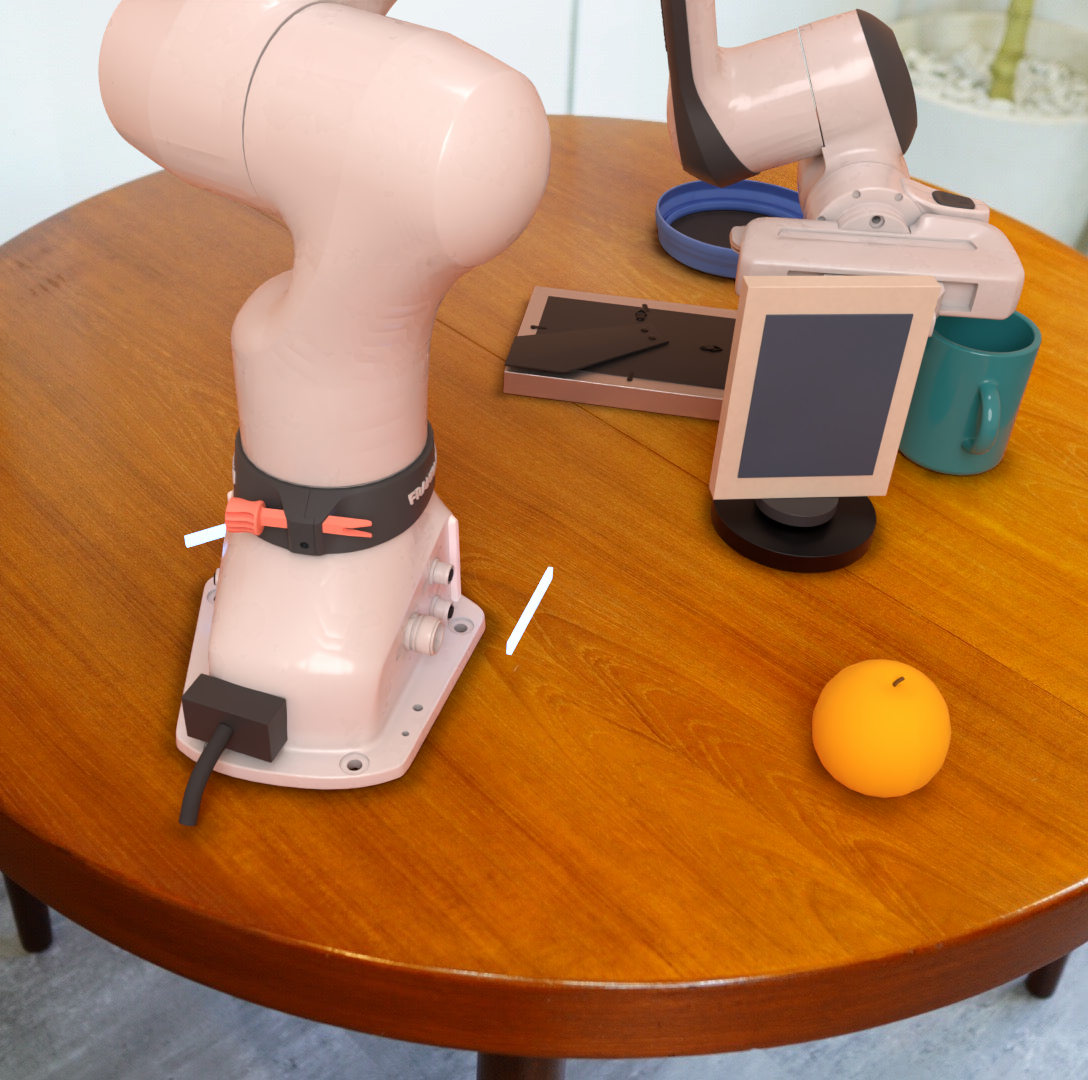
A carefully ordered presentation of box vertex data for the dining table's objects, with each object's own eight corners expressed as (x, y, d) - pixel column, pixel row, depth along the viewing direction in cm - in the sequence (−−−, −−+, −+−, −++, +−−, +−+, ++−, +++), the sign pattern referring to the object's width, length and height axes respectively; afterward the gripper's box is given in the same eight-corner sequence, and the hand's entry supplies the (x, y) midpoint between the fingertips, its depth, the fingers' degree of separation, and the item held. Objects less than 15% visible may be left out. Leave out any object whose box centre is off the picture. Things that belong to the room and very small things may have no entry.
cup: (910, 499, 101) (946, 373, 94) (879, 414, 111) (910, 294, 104) (1026, 504, 102) (1070, 379, 95) (986, 419, 111) (1023, 300, 104)
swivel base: (878, 582, 93) (882, 565, 92) (708, 562, 94) (711, 545, 93) (866, 485, 102) (870, 469, 102) (712, 467, 103) (714, 451, 102)
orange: (792, 717, 82) (814, 627, 77) (917, 721, 82) (946, 631, 78) (815, 818, 76) (840, 727, 71) (950, 821, 76) (984, 730, 71)
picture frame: (503, 393, 110) (751, 425, 108) (504, 363, 108) (756, 395, 107) (533, 306, 123) (757, 333, 121) (535, 278, 121) (761, 305, 119)
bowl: (852, 283, 130) (859, 250, 128) (674, 288, 127) (678, 254, 125) (797, 207, 144) (802, 175, 142) (636, 209, 141) (639, 177, 139)
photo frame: (892, 525, 96) (953, 302, 84) (717, 529, 94) (756, 303, 83) (867, 477, 100) (922, 260, 89) (700, 480, 99) (735, 260, 88)
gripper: (733, 184, 99) (742, 273, 88) (1008, 202, 98) (1050, 294, 87) (723, 260, 103) (730, 353, 92) (987, 278, 102) (1024, 374, 92)
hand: (888, 325), depth 90 cm, fingers open, 3 cm apart
